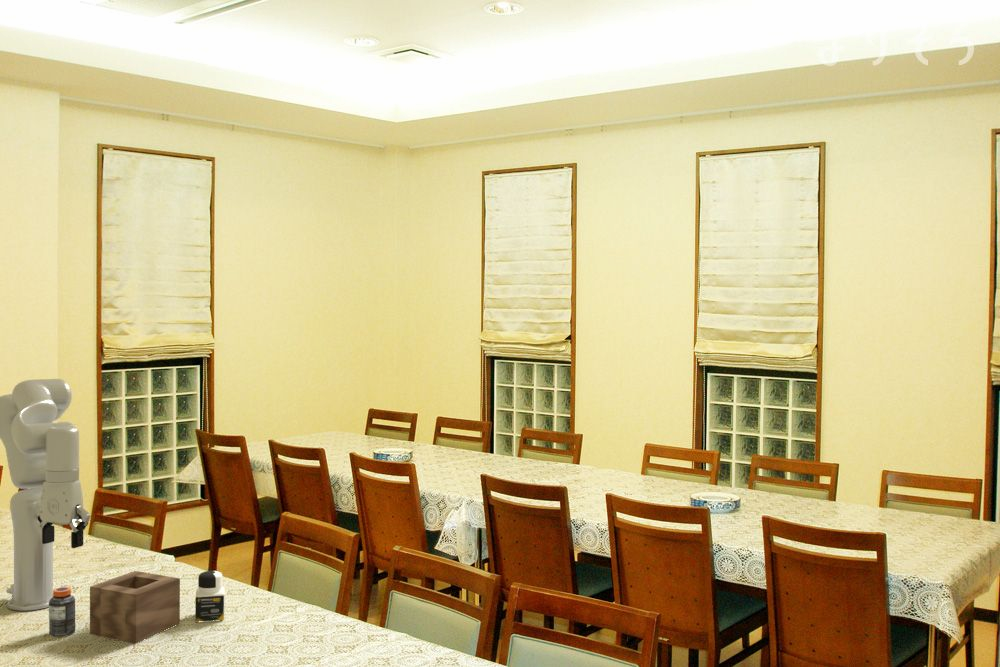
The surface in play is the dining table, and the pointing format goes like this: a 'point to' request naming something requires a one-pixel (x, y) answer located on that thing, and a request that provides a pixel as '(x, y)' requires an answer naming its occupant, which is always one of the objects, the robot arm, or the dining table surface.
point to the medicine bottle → (210, 597)
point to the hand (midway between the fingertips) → (62, 544)
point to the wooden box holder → (134, 606)
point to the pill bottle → (62, 613)
